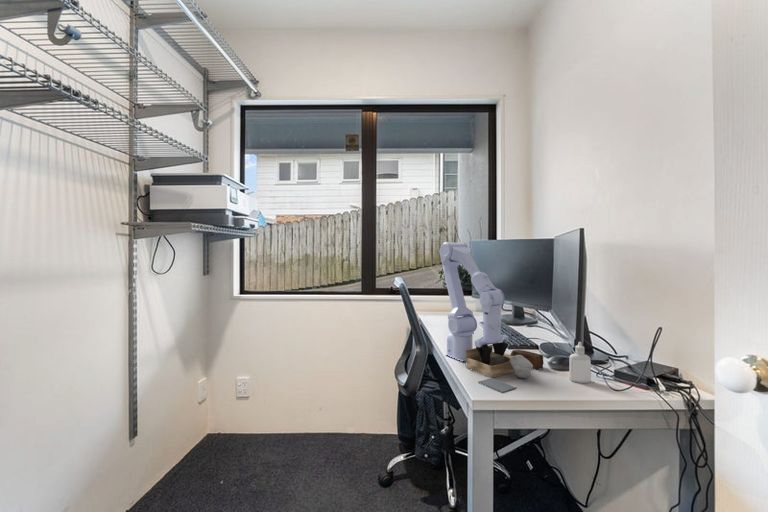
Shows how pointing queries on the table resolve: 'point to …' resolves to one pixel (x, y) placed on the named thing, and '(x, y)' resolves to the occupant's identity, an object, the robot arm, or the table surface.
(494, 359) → the box
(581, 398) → the table surface
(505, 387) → the mat
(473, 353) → the carton
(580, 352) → the eye dropper bottle
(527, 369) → the grey faceted rock
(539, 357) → the brick
